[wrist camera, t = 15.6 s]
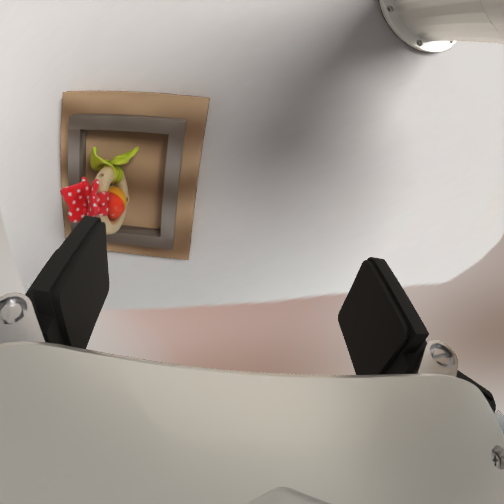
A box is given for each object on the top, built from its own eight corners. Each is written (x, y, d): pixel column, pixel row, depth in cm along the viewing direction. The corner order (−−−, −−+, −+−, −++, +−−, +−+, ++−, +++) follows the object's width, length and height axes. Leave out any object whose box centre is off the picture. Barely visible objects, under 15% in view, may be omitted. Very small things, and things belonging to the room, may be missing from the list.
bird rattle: (153, 186, 37) (136, 125, 30) (142, 264, 31) (113, 201, 23) (106, 192, 37) (83, 134, 29) (87, 267, 30) (49, 210, 23)
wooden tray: (68, 91, 29) (55, 94, 26) (210, 98, 32) (208, 100, 29) (70, 240, 39) (60, 253, 36) (189, 253, 42) (187, 268, 39)
